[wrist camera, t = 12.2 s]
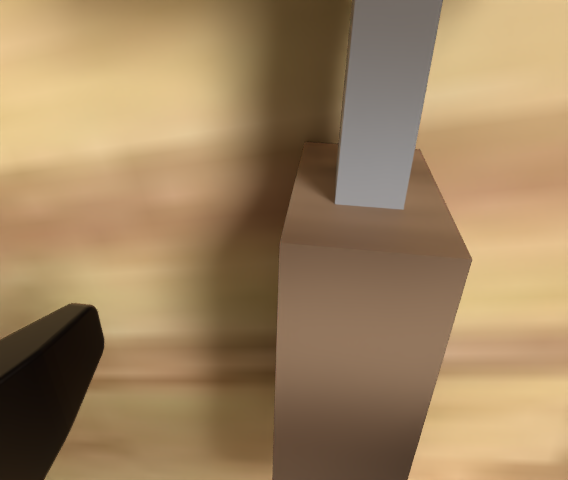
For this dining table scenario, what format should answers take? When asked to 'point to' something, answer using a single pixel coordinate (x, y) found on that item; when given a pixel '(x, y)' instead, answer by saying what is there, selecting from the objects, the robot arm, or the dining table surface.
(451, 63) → the dining table surface
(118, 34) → the dining table surface
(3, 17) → the dining table surface
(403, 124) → the scraper
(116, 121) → the dining table surface
